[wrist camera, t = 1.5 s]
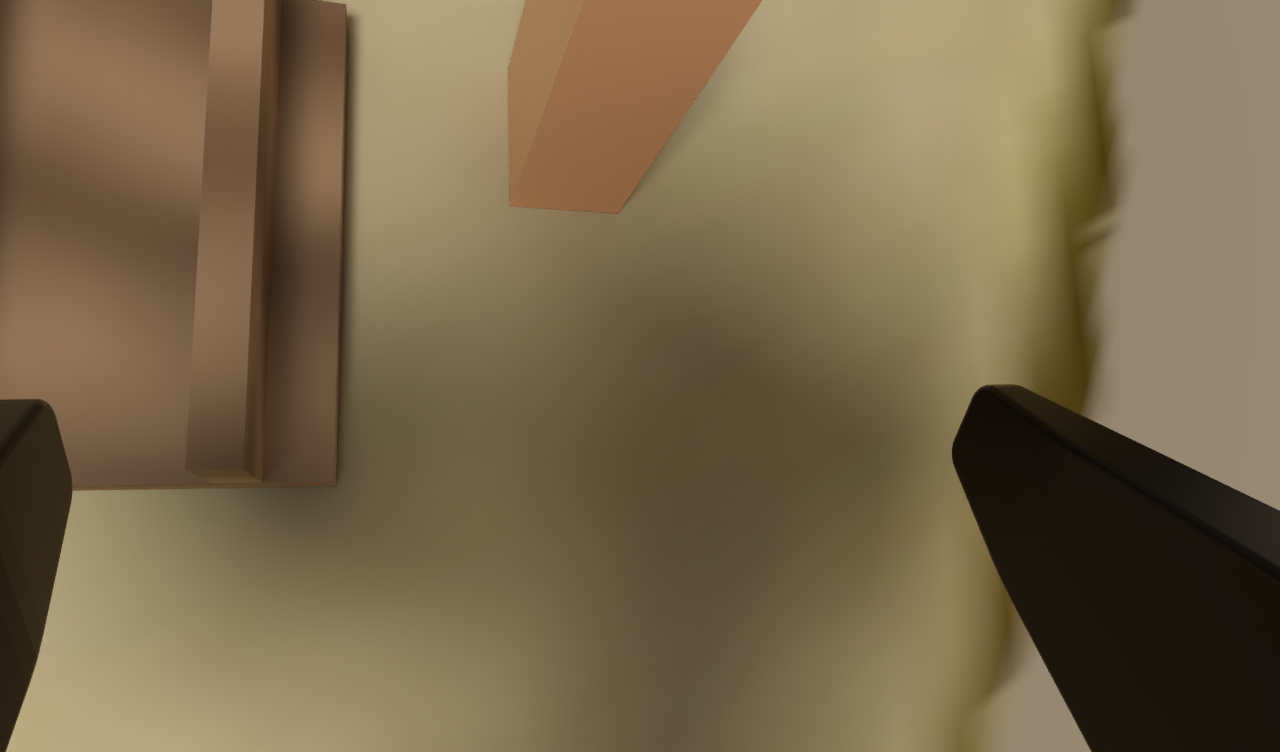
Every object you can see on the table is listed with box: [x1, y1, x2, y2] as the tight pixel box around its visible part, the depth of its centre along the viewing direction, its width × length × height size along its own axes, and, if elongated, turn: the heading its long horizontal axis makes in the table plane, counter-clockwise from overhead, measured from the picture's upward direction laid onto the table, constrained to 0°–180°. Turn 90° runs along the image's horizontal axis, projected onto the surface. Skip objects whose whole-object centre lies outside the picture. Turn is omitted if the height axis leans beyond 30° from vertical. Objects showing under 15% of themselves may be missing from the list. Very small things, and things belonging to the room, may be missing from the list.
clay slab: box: [508, 0, 762, 213], centre depth 19 cm, size 4×3×12 cm
